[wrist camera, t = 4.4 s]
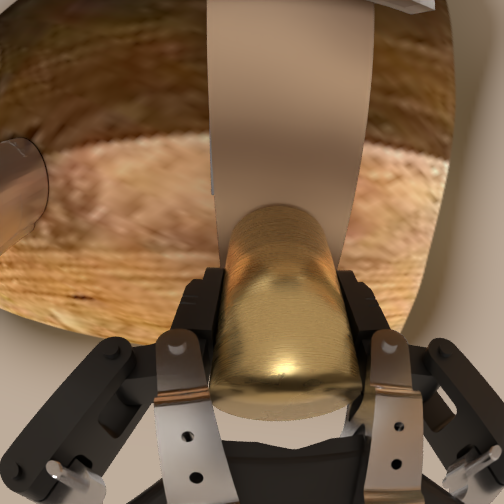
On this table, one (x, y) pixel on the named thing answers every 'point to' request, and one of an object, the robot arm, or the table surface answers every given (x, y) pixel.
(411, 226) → the table surface
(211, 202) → the table surface
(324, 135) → the seesaw
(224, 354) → the brass weight
